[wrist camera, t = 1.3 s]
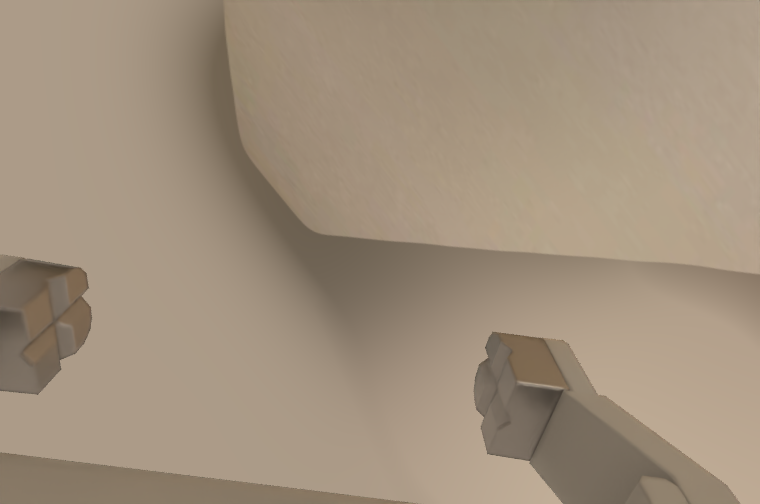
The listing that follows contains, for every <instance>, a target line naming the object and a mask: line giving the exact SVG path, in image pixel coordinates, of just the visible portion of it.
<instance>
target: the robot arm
mask: <svg viewBox="0 0 760 504" xmlns="http://www.w3.org/2000/svg"><path fill="white" fill-rule="evenodd" d="M88 288H89V287H88V281H87V275H86V272H84V271H83V270H82V269H81V268H79V267H73V266H67V265H61V264H55V263H50V262H44V261H39V260H32V259H25V258H22V257H15V256H8V255H0V391H9V392H19V393H29V394H37V395H38V394H39V393H40V392H41V391H42V389H43V388H44V387H45V386H46V385H47V384H48V383H49V382H50V381H51V380H52V379H53V377H54V376H55V375H56V374H57V373H58V372H59V371H60V370H61V366H60V360H61V359H64V358H66V357H68V356H70V355H73V354H75V353H76V352H77V351H78V350H79V349H80V347H81V346H82V345H83V344H84V342H85V340H86V338H87V336H88V333H89V331H90V328H91V320H92V315H91V307H90V306H89V304H88V303H87V302H86V301H85V300H84V299H83V297H82V295H83V294H84V293H85V292H86V290H87V289H88ZM485 348H486V351H487V355H488V358H487V359H486V360H485V361H483V362H482V363H481V364H479V367H478V370H477V373H476V377H475V385H474V398H475V399H474V400H475V405H476V409H477V410H478V412H480V414H481V415H483V416H484V420H483V422H482V425H481V430H482V434H483V438H484V441H485V446H486V450H487V454H490V455H496V456H502V457H508V458H515V459H522V460H527V461H530V464H531V465H532V466H533V468H534V469H535V470H536V471H537V473H538V474H539V475H540V476H541V477H542V479H543V480H544V481H545V482H546V483H547V485H548V486H549V487H550V488H551V489H552V491H553V492H554V493H555V494H556V495H557V497H558V498H559V499H560V500H561V502H562V503H563V504H740V502H739V501H738V500H737V499H736V497H735V496H734V494H733V493H732V492H731V490H730V489H729V488H728V486H727V485H726V484H724V483H723V482H722V481H720V480H719V479H718V478H716V477H715V476H714V475H712V474H711V473H710V472H708V471H707V470H705V469H704V468H703V467H701V466H700V465H699V464H697V463H696V462H694V461H693V460H692V459H690V458H689V457H688V456H686V455H685V454H683V453H682V452H681V451H680V450H678V449H677V448H675V447H674V446H673V445H671V444H670V443H668V442H667V441H666V440H665V439H663V438H662V437H660V436H659V435H658V434H656V433H655V432H654V431H652V430H651V429H649V428H648V427H647V426H645V425H644V424H643V423H641V422H640V421H639V420H637V419H636V418H635V417H633V416H632V415H630V414H629V413H628V412H626V411H625V410H624V409H622V408H621V407H620V406H618V405H617V404H615V403H614V402H613V401H611V400H610V399H609V398H607V397H606V396H601V395H598V394H597V393H596V391H595V389H594V388H593V386H592V384H591V382H590V381H589V379H588V377H587V375H586V374H585V372H584V370H583V368H582V367H581V365H580V363H579V362H578V360H577V358H576V357H575V355H574V353H573V351H572V349H571V348H570V346H569V344H568V343H566V342H565V341H563V340H556V339H547V338H535V337H529V336H520V335H514V334H506V333H498V332H492V334H491V335H490V337H489V339H488V341H487V344H486V347H485ZM0 504H416V503H408V502H400V501H391V500H384V499H376V498H368V497H360V496H351V495H344V494H335V493H328V492H320V491H312V490H304V489H296V488H288V487H280V486H271V485H263V484H255V483H247V482H238V481H230V480H222V479H214V478H205V477H197V476H189V475H181V474H172V473H164V472H156V471H148V470H140V469H131V468H123V467H115V466H107V465H97V464H90V463H82V462H74V461H66V460H58V459H49V458H41V457H33V456H25V455H17V454H9V453H0Z"/></svg>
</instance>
